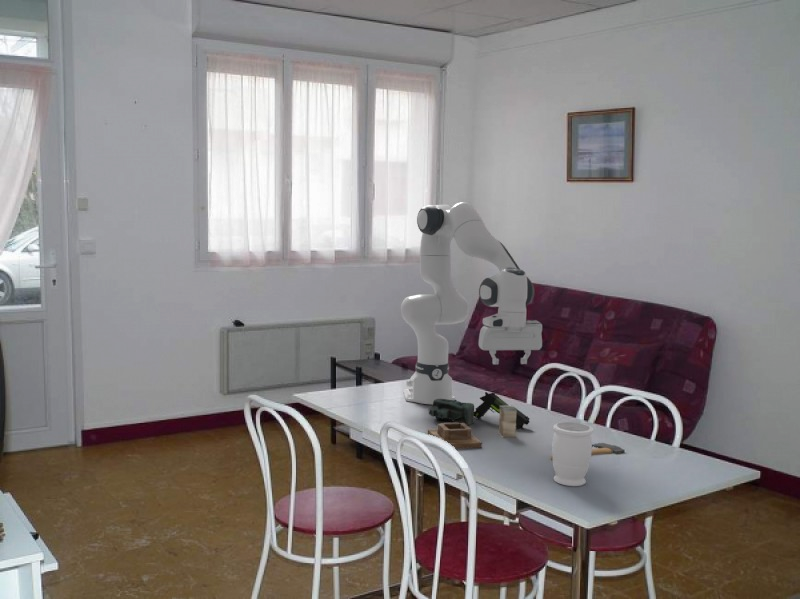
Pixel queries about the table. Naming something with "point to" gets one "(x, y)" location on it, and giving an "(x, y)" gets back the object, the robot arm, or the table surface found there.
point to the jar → (571, 452)
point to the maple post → (507, 421)
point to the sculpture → (453, 411)
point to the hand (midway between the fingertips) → (509, 364)
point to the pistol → (498, 409)
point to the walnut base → (459, 442)
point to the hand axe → (604, 449)
